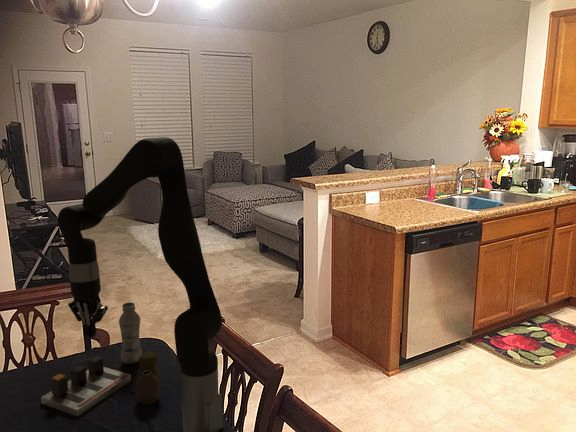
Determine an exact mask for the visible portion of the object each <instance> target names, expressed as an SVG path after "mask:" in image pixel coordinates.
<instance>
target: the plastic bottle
mask: <svg viewBox="0 0 576 432" xmlns="http://www.w3.org/2000/svg"><path fill="white" fill-rule="evenodd" d="M121 307H122V314H121V315H120V317H119V319H118V325H119V329H120V335H121V351H120V359H121V360H120V361H121V362H122V363H123V364H125V365H134V364H136V363H137V364H138V363H139V357H140V355H142V354H143V349H142V347H141V342H140V341H141V340H140V325H141V317H140V315H139V314H138V312H136V306H135V303H134V302H125V303H123V304H122V306H121Z"/></svg>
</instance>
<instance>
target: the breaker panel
mask: <svg viewBox="0 0 576 432" xmlns="http://www.w3.org/2000/svg"><path fill="white" fill-rule="evenodd" d="M87 365H88V367H87V368H88V369H87V368H86V367H85V366H81V365H77V366H75V367H73V368H71V369H70V370H69V372H70V373H69V374H70V379H69V380H67V381H68V392H67V393H65V394H63V395H62V396H60V397H59V396H56V395H53V394H52V390H51V391H49V392H47V393H46V394H44V395H42V396H41V397H40V398H41V404H42V405H43V406H44V405H45V406H47V407H50V408H53V409H56V410H59V411H62V412H63V413H67V414H69V415H72V416H74V417H79V416H81V415H83V414H84V413H86V412H87V411H88V410H90V409H91V408H93V407H94V406H96V405H98V404H99V403H100V402H102V401H104V400H105V399H106V398H108V397H109V396H110V395H112V394H114V393H115V392H116V391H118V390H119V389H122V388H123V387H124V386H125V385H127V384H128V383H130V382H131V381H132V375H131V374H130V373H126V372H124V371H119V370H117V369H113V368H112V369H111V368H109V367H106V366H104V359H103V357H100V356H97V355H95V356H92V357H91V358H89V359H87Z"/></svg>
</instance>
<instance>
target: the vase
mask: <svg viewBox="0 0 576 432" xmlns="http://www.w3.org/2000/svg"><path fill="white" fill-rule="evenodd" d="M134 392H135V393H134V394H135V398H136V400H137V401H138V402H139V403H140V404H142V405H145V406H146V405H151V404H154V403H156V402H157V400H158V398H159V397H160V394H161V383H160V380H159V378H158V379H157V378H156V377H155V376H154V375H153V374H152V372H151V371H144V372H143V373H142V375H141V377H140V376H139V378H138V379H137V381H136V382H135V387H134Z"/></svg>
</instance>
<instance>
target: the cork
mask: <svg viewBox="0 0 576 432" xmlns="http://www.w3.org/2000/svg"><path fill="white" fill-rule="evenodd" d="M157 361H158V357H157V355H156V353H154V352H152V351H147V352H144V353H143V352H142V355H140V357H139V362H138V365H139V366H140V374H139V378H140V377H141V375H142V373H143V372H144V371H151V372H152V374H153V375H154V376H155V377H156V378H157V379H158V380H159V375H158V371H157V367H156V364H157Z"/></svg>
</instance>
